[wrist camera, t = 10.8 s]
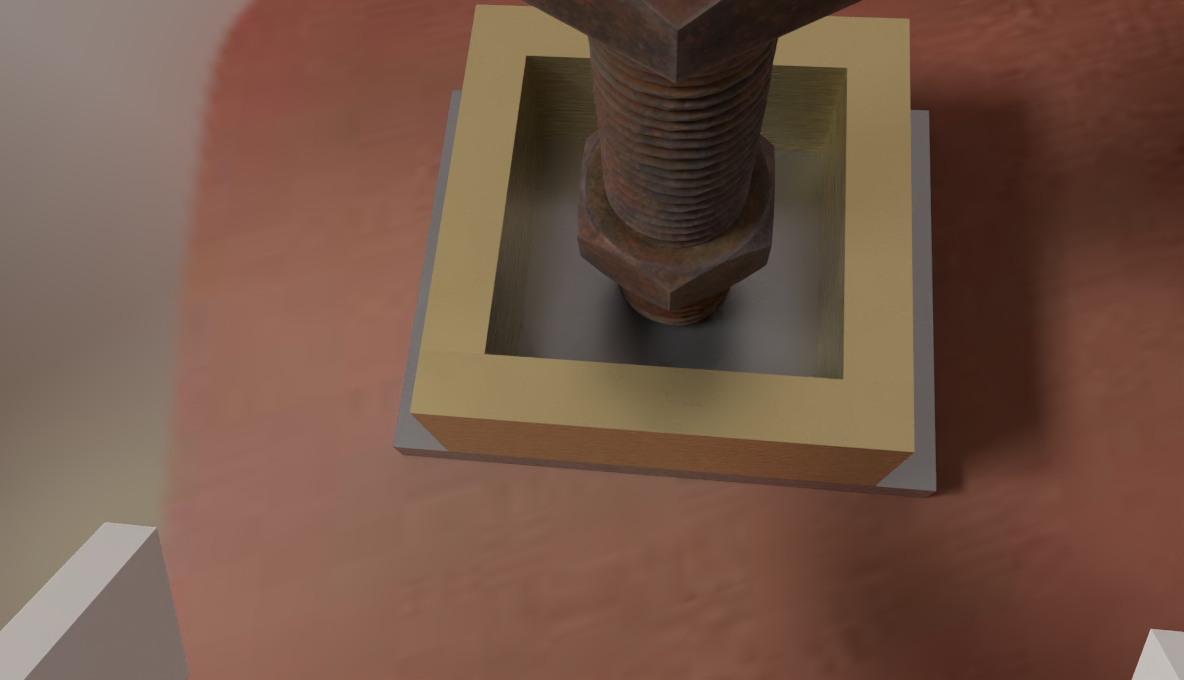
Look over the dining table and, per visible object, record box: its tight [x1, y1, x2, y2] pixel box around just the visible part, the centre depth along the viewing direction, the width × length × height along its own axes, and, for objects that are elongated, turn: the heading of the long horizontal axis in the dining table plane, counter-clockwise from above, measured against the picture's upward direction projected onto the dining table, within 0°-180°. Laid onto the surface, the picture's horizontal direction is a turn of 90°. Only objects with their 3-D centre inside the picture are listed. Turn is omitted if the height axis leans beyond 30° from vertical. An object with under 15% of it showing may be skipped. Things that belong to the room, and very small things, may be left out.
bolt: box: [522, 0, 861, 326], centre depth 19 cm, size 6×5×15 cm
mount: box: [393, 5, 936, 498], centre depth 25 cm, size 14×11×5 cm
